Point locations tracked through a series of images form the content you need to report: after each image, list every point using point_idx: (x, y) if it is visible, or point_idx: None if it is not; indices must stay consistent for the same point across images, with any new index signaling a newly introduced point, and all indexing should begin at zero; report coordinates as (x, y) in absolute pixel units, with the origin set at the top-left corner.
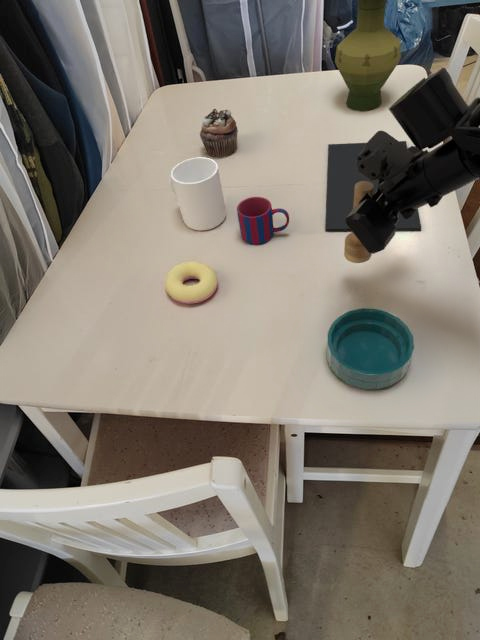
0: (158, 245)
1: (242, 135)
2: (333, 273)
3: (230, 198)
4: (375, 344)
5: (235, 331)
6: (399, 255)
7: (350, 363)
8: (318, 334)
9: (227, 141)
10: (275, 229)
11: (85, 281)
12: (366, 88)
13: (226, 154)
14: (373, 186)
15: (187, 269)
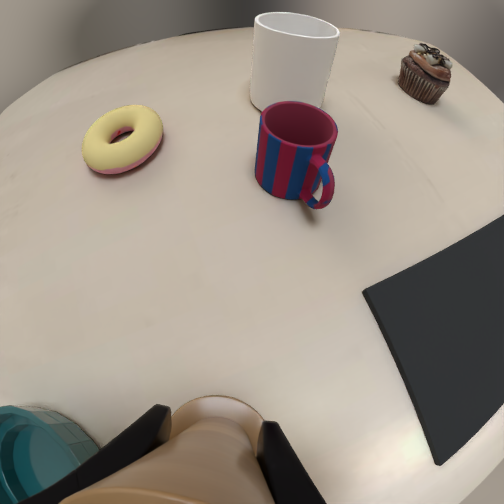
0: (202, 82)
1: (452, 107)
2: (238, 366)
3: (346, 115)
4: None
5: (47, 243)
6: (355, 471)
7: (29, 449)
8: (65, 386)
9: (423, 82)
10: (304, 193)
11: (124, 67)
12: None
13: (413, 95)
14: (498, 318)
15: (136, 118)
